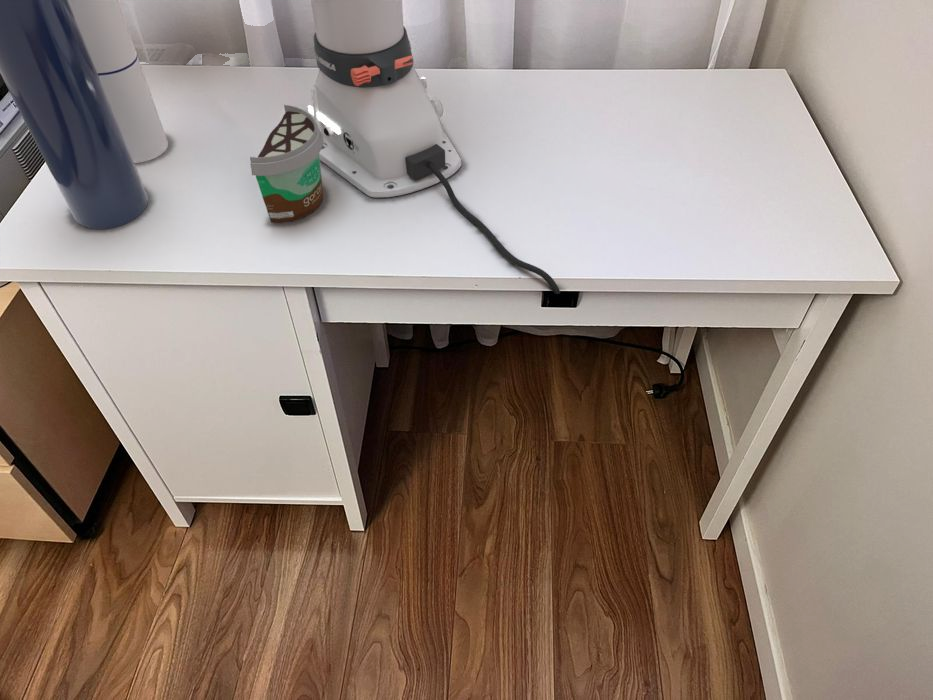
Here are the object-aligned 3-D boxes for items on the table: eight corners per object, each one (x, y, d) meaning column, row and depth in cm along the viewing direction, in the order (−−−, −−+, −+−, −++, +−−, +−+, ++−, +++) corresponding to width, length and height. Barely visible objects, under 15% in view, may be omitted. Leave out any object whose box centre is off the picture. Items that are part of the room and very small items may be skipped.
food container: (315, 235, 88) (300, 165, 81) (266, 230, 89) (247, 159, 81) (344, 176, 96) (333, 107, 89) (299, 171, 97) (285, 102, 89)
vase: (156, 213, 91) (25, -115, 64) (82, 238, 88) (-90, -96, 61) (137, 177, 96) (8, -142, 69) (66, 198, 93) (-99, -126, 66)
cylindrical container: (117, 167, 98) (33, -29, 79) (111, 140, 102) (31, -53, 83) (171, 155, 99) (102, -39, 81) (164, 128, 104) (96, -62, 85)
